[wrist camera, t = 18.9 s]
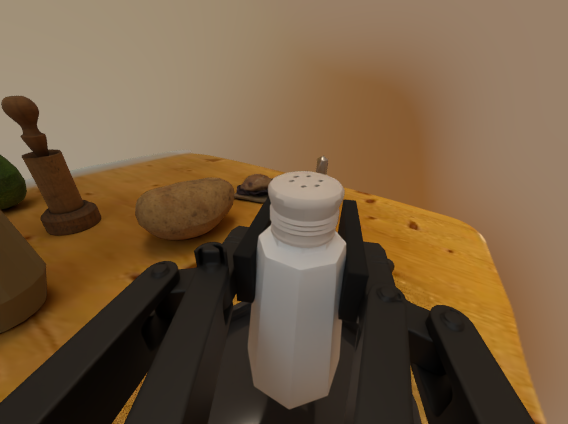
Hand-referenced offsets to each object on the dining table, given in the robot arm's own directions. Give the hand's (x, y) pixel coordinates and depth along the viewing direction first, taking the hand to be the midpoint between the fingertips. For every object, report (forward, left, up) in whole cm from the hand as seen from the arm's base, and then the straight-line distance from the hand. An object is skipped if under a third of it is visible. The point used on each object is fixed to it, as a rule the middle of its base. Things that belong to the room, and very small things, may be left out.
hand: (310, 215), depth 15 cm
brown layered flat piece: (+19, +26, -13) cm, 35 cm away
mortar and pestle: (-10, +37, -13) cm, 41 cm away
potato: (+2, +22, -13) cm, 26 cm away
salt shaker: (-5, -3, -7) cm, 9 cm away
